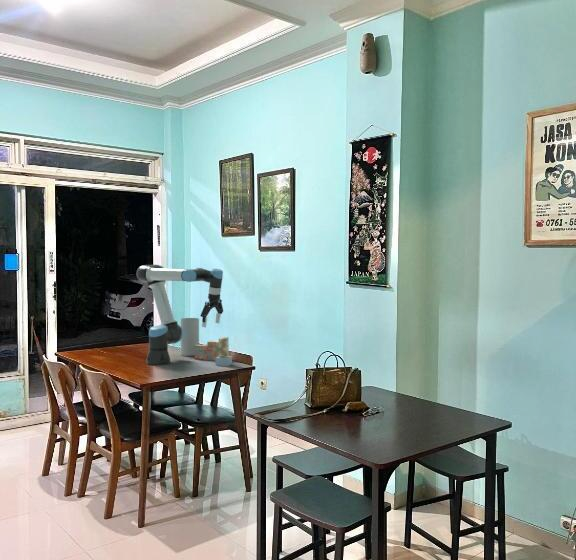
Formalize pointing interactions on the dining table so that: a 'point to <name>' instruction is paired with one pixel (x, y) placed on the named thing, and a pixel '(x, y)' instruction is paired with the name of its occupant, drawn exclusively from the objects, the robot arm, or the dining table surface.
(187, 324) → the cylinder vase
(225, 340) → the pillar
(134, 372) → the dining table surface
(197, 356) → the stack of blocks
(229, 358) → the base block
